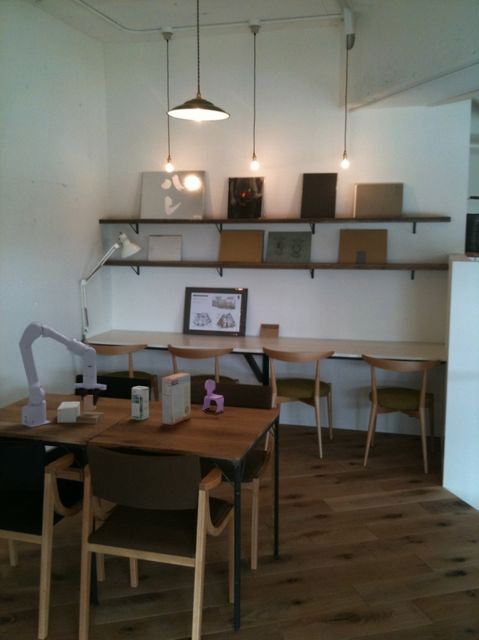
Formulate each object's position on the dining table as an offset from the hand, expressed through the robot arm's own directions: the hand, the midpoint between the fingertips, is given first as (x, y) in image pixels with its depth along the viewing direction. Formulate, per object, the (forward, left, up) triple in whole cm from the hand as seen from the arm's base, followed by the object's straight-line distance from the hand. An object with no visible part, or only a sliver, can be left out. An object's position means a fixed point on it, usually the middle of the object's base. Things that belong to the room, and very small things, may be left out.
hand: (90, 404), depth 251 cm
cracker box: (+25, -29, -7) cm, 39 cm away
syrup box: (+17, -14, -7) cm, 23 cm away
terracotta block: (0, 0, -2) cm, 2 cm away
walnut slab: (0, 0, -8) cm, 8 cm away
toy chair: (+49, -30, -7) cm, 58 cm away
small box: (0, +14, -4) cm, 15 cm away
